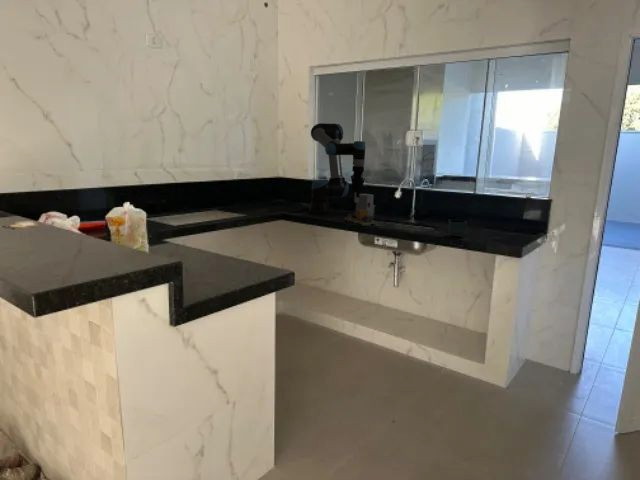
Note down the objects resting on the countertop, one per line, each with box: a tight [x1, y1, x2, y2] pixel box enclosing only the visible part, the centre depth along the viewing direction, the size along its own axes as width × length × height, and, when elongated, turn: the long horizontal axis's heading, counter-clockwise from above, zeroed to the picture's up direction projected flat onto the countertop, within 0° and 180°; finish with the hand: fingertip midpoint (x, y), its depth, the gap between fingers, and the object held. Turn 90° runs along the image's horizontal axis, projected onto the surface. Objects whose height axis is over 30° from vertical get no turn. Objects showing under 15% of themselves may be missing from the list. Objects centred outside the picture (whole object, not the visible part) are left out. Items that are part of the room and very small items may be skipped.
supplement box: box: [355, 193, 374, 217], centre depth 313 cm, size 9×9×15 cm
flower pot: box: [448, 219, 468, 236], centre depth 255 cm, size 9×9×9 cm
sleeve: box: [355, 209, 368, 220], centre depth 290 cm, size 4×6×6 cm, turn 122°
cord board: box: [344, 213, 379, 227], centre depth 291 cm, size 20×12×5 cm, turn 32°
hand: (356, 201), depth 295 cm, fingers closed
